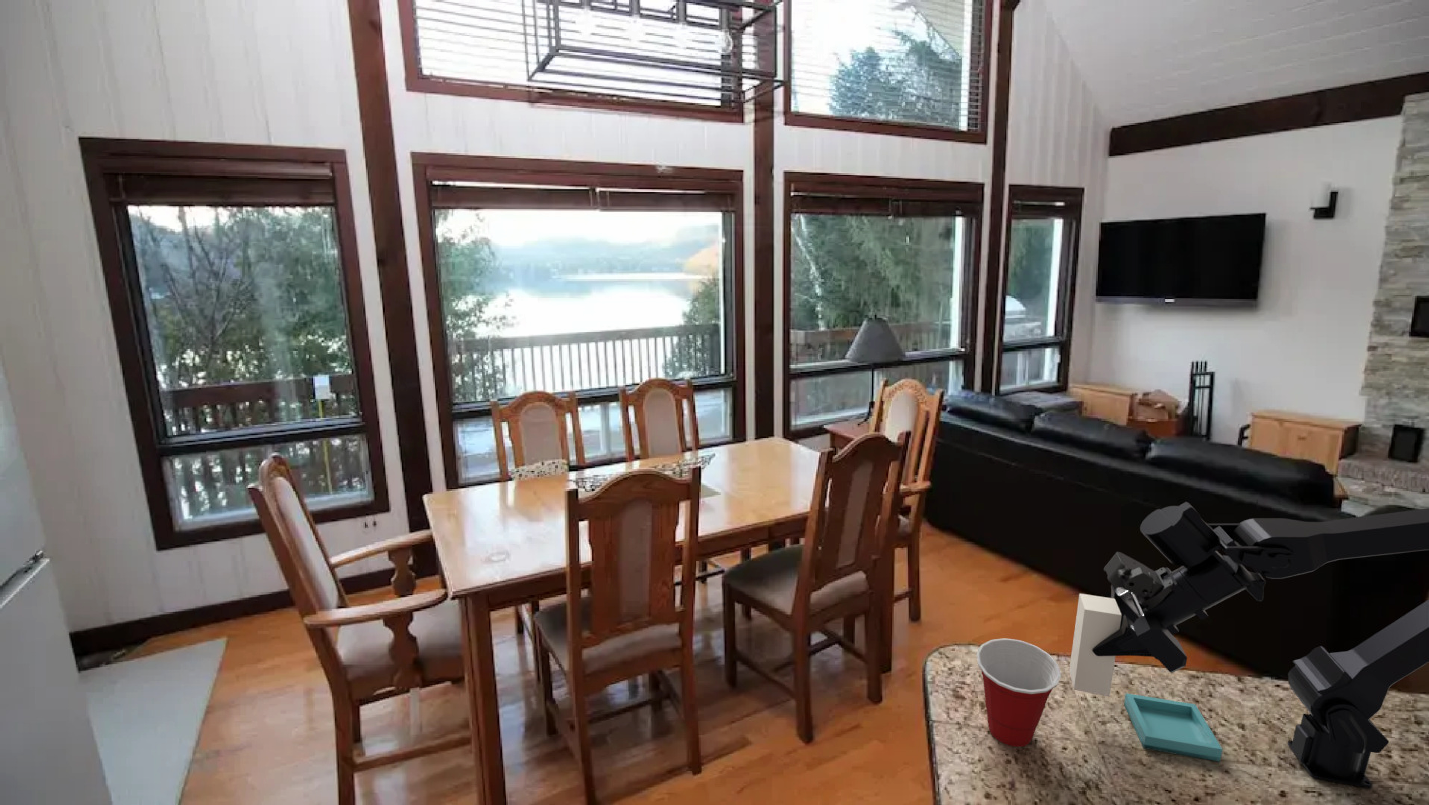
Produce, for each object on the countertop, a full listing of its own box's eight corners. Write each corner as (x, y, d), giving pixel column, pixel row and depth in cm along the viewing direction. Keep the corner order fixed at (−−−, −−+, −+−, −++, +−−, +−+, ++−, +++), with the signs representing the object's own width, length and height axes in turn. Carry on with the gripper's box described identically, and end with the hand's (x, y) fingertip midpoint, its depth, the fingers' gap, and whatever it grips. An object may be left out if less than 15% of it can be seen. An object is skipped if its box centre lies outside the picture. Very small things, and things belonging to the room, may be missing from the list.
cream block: (1103, 677, 97) (1114, 598, 94) (1109, 696, 93) (1121, 615, 89) (1069, 670, 98) (1079, 593, 95) (1073, 689, 94) (1084, 609, 91)
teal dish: (1193, 715, 97) (1195, 704, 96) (1219, 761, 88) (1222, 749, 88) (1123, 704, 99) (1125, 693, 99) (1143, 748, 91) (1145, 736, 90)
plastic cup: (964, 745, 92) (971, 672, 89) (974, 698, 101) (980, 630, 98) (1051, 773, 87) (1061, 696, 84) (1052, 721, 96) (1062, 650, 93)
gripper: (1135, 515, 96) (1044, 570, 103) (1171, 575, 80) (1060, 636, 86) (1189, 572, 96) (1094, 624, 102) (1237, 644, 79) (1120, 701, 85)
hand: (1091, 643), depth 94 cm, fingers closed on cream block, 4 cm apart
